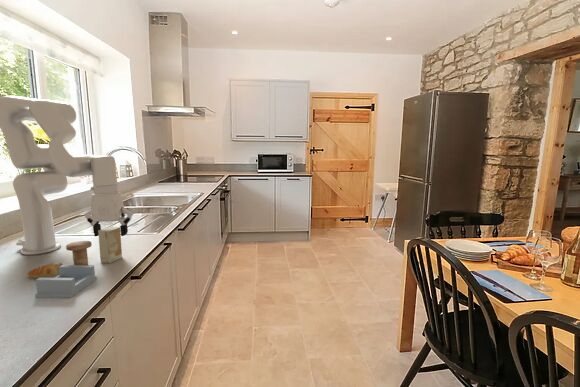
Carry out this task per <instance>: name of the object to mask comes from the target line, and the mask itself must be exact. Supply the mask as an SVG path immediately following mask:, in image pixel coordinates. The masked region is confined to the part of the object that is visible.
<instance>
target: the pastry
mask: <svg viewBox="0 0 580 387" xmlns="http://www.w3.org/2000/svg"><path fill="white" fill-rule="evenodd" d="M61 265H64V264H63V263H61V262H58V263H49V264H46V265H42V266H39V267H36V268H34V269H32V270H29V271H28V272H27V273H26V275H27V277H29V279H38V278H55V277H56V276H58V275H60V273H59V267H60V266H61Z"/></svg>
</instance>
